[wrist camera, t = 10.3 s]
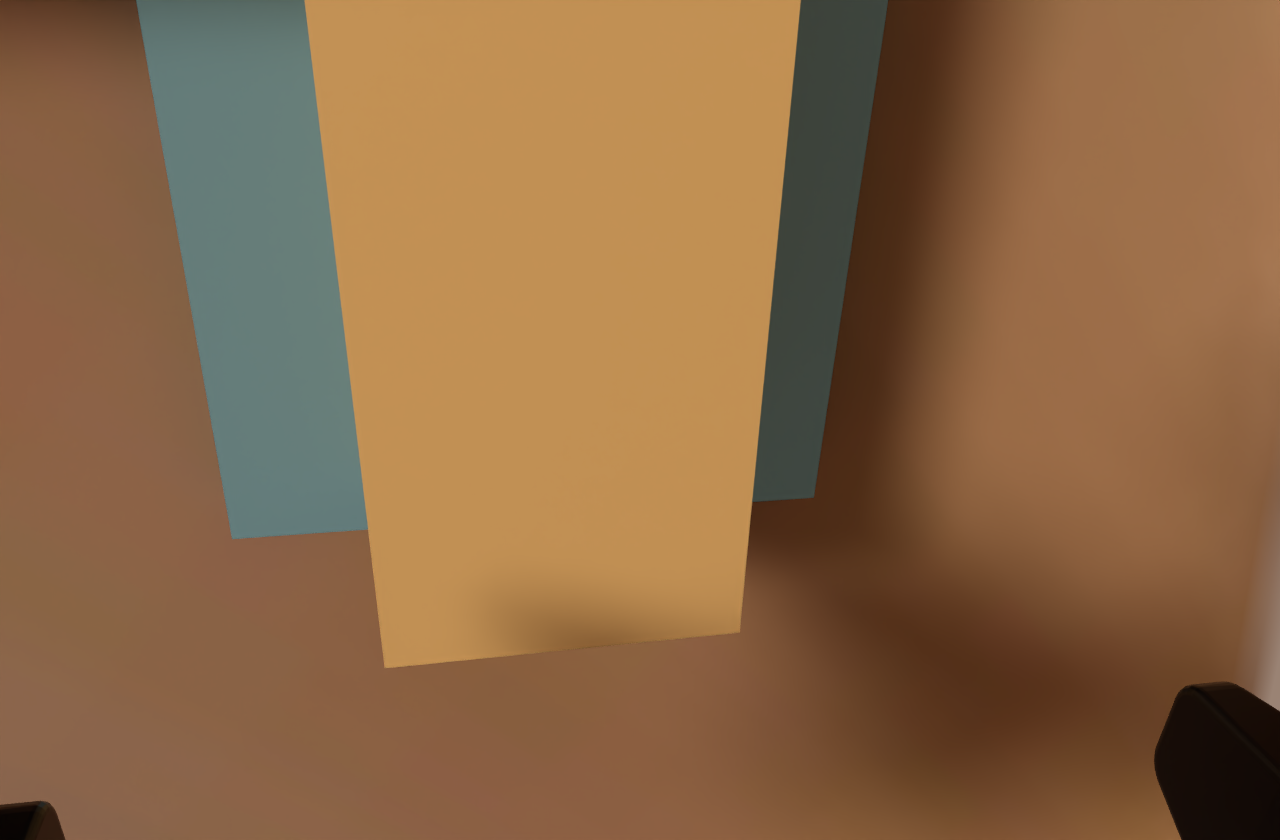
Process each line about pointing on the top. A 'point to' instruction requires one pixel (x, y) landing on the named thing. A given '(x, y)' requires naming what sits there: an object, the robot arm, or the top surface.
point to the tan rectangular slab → (554, 307)
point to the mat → (307, 273)
